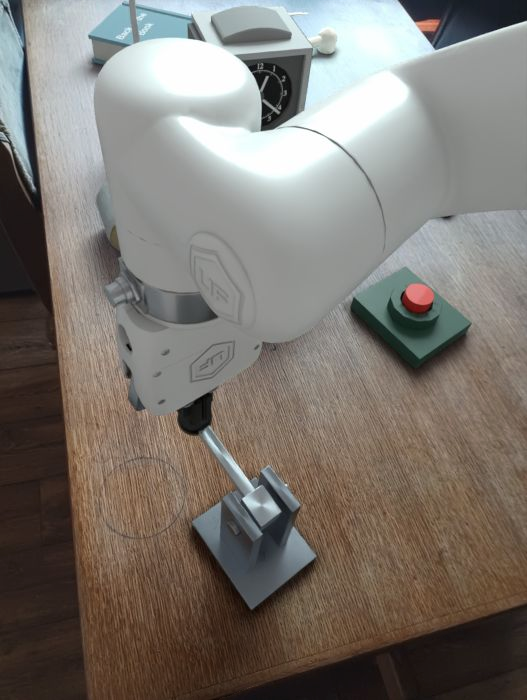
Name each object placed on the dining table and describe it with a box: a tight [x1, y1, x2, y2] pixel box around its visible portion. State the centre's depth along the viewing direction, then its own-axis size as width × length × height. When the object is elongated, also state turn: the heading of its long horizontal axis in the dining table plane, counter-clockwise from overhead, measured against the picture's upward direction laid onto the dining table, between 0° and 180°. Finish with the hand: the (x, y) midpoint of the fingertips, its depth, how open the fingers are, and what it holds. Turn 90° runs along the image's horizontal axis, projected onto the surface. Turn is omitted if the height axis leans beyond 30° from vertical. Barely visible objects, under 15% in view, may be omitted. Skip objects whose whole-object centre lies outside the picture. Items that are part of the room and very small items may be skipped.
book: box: [87, 0, 192, 66], centre depth 104 cm, size 23×16×5 cm
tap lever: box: [176, 412, 282, 531], centre depth 48 cm, size 13×3×3 cm, turn 37°
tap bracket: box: [191, 464, 318, 613], centre depth 49 cm, size 10×8×12 cm
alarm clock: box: [187, 5, 314, 132], centre depth 87 cm, size 18×13×18 cm
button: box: [402, 284, 434, 314], centre depth 69 cm, size 4×4×2 cm
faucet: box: [288, 12, 338, 55], centre depth 108 cm, size 4×18×10 cm, turn 122°
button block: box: [349, 266, 473, 370], centre depth 71 cm, size 12×10×4 cm
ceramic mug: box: [95, 182, 120, 252], centre depth 75 cm, size 11×8×8 cm
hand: (193, 409), depth 48 cm, fingers closed
